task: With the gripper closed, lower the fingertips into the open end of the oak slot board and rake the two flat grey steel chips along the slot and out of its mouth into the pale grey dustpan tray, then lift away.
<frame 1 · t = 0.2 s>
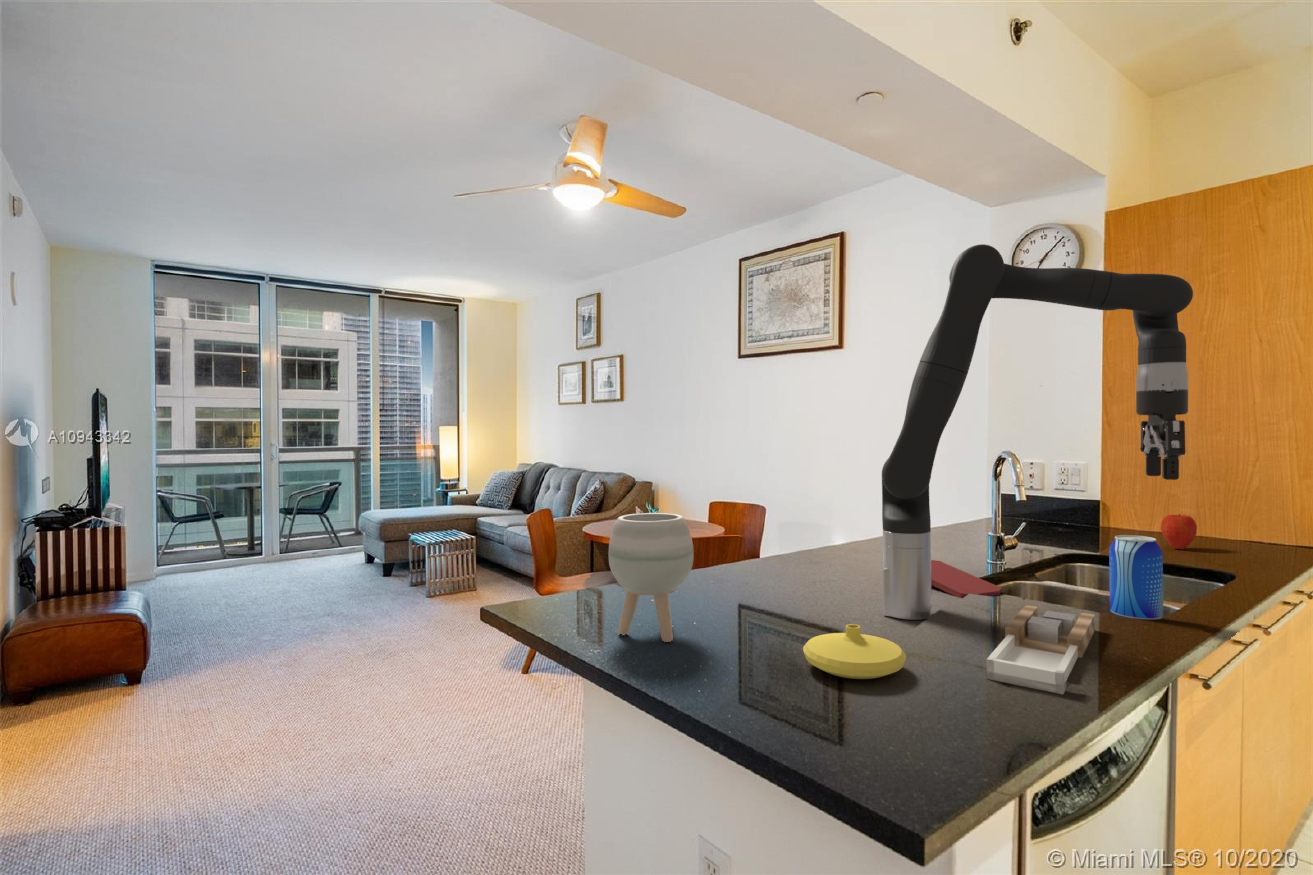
hand: (1161, 477, 120), 28 cm above the table, fingers open, 8 cm apart
planter: (652, 635, 124), on the table
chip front: (1045, 638, 114), point 1 cm above the table, touching slot board
vase: (853, 671, 105), on the table
apple: (1178, 550, 197), on the table
slot board: (1051, 643, 115), on the table
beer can: (1136, 620, 128), on the table
chip rear: (1059, 632, 117), point 1 cm above the table, touching slot board
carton: (943, 587, 159), on the table
tray: (1033, 671, 102), on the table
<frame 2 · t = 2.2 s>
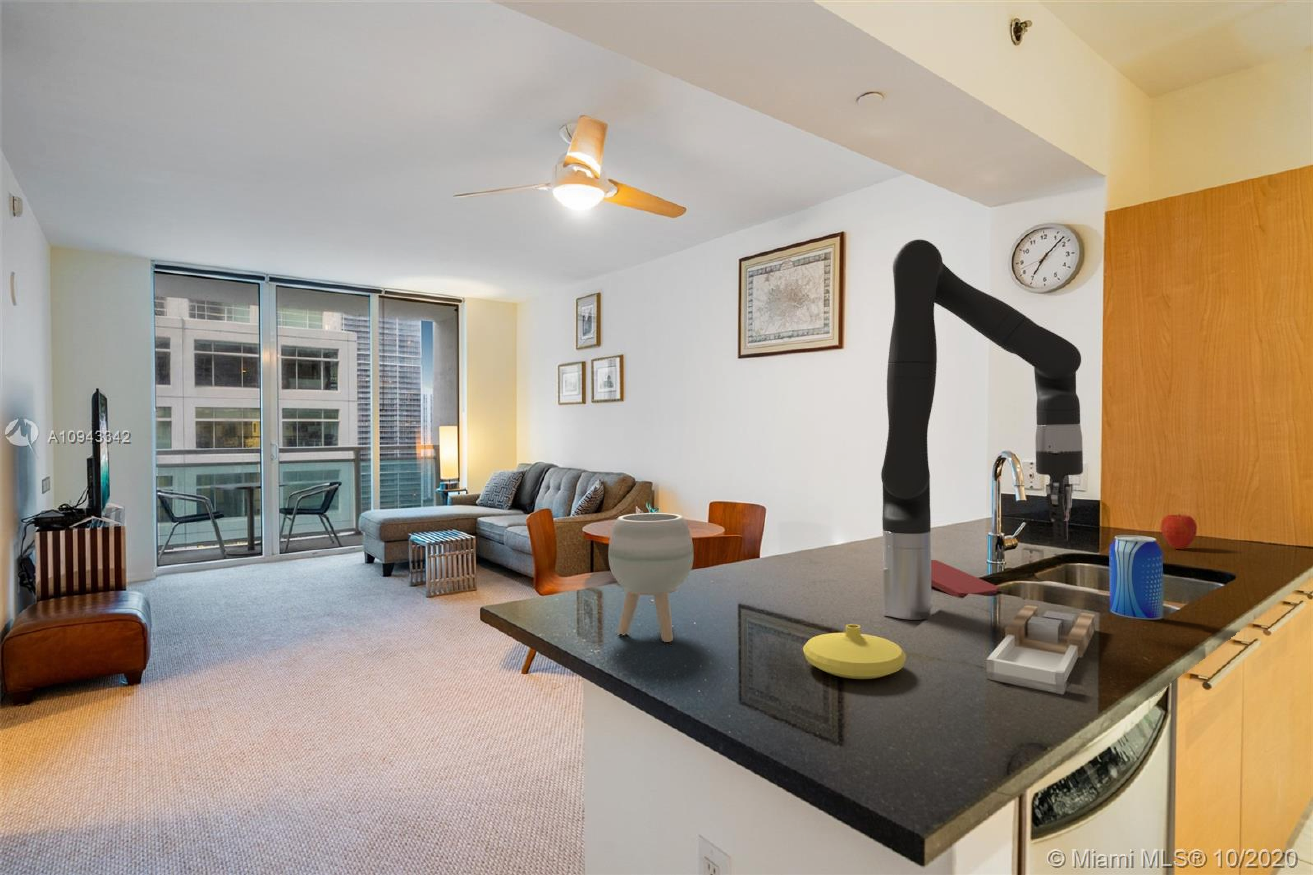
hand: (1060, 541, 123), 17 cm above the table, fingers closed
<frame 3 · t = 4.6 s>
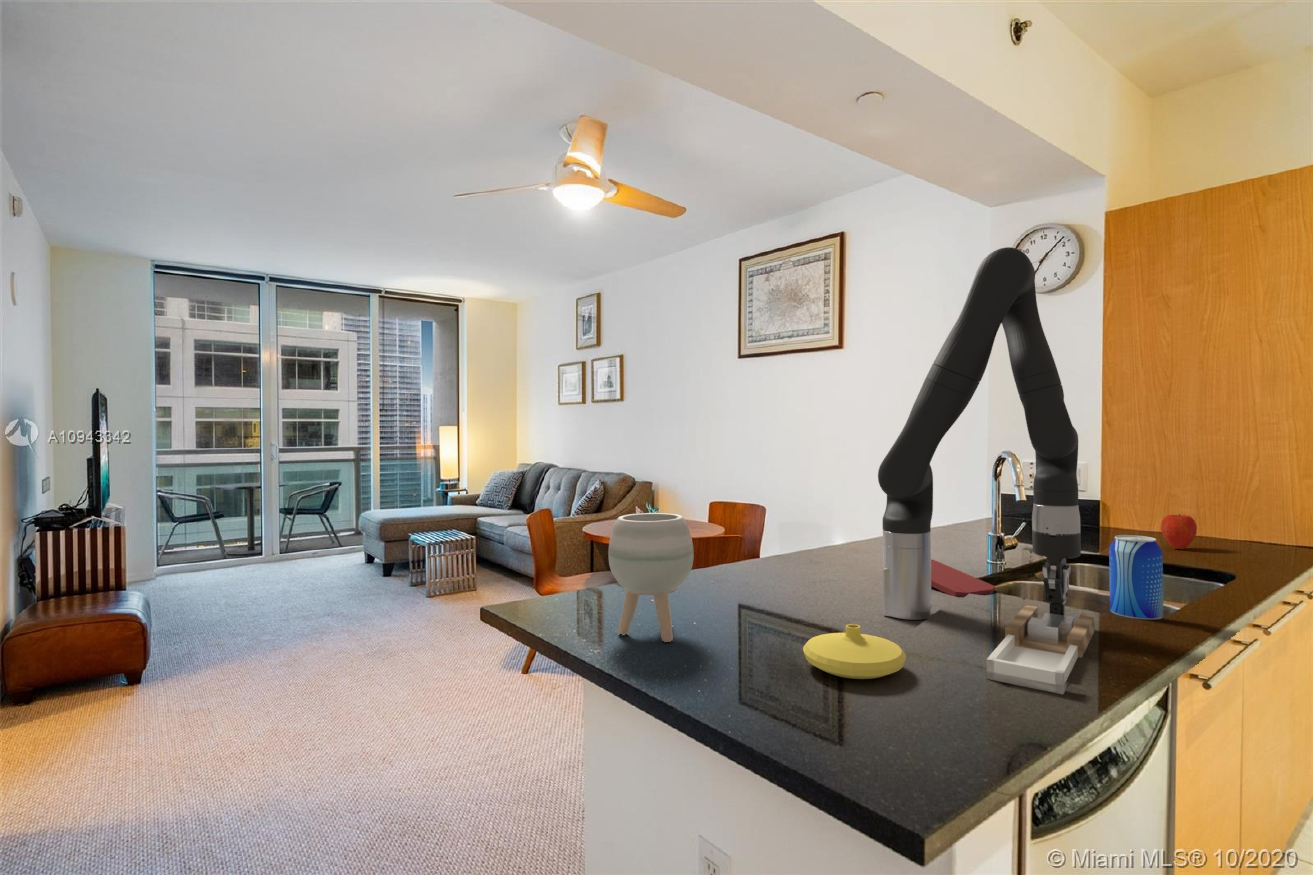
hand: (1057, 623, 120), 2 cm above the table, fingers closed
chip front: (1044, 639, 113), point 1 cm above the table, touching chip rear, slot board
chip rear: (1058, 634, 116), point 1 cm above the table, touching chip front, gripper
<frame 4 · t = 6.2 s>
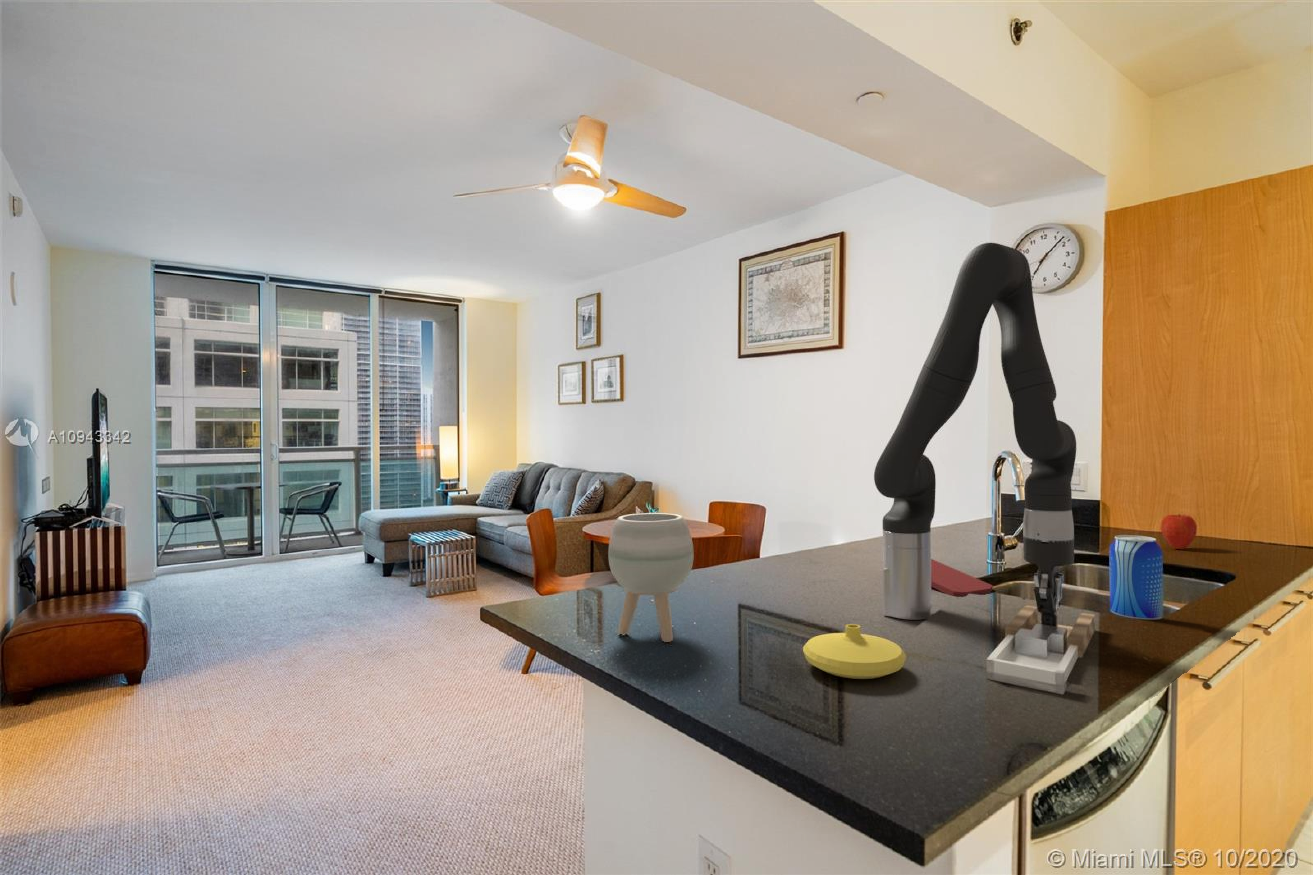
hand: (1049, 635, 113), 2 cm above the table, fingers closed
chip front: (1033, 652, 107), point 1 cm above the table, touching chip rear, slot board, tray
chip rear: (1049, 647, 110), point 1 cm above the table, touching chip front, gripper, slot board
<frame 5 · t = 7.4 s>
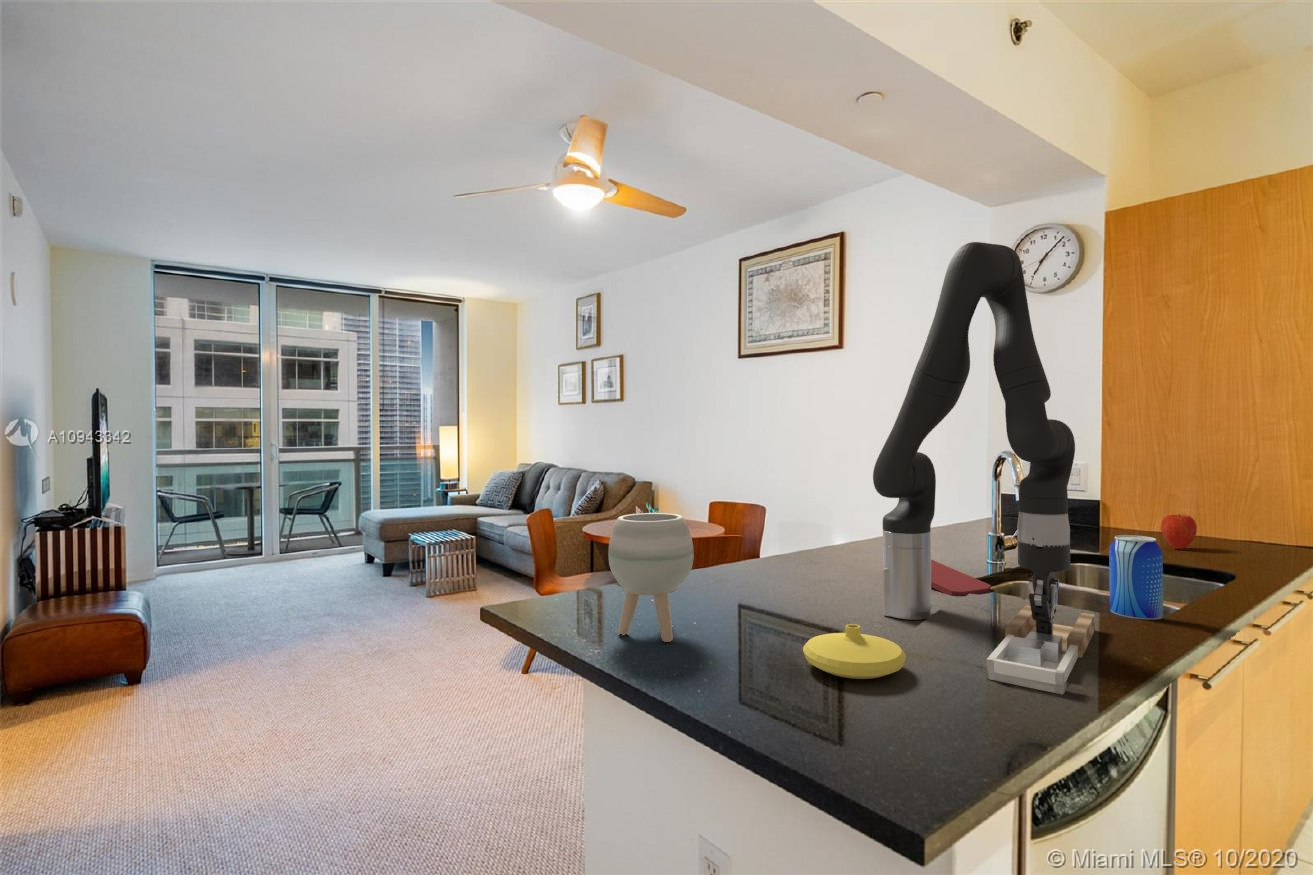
hand: (1044, 643, 109), 2 cm above the table, fingers closed
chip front: (1026, 661, 103), point 1 cm above the table, touching chip rear
chip rear: (1043, 655, 106), point 1 cm above the table, touching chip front, gripper
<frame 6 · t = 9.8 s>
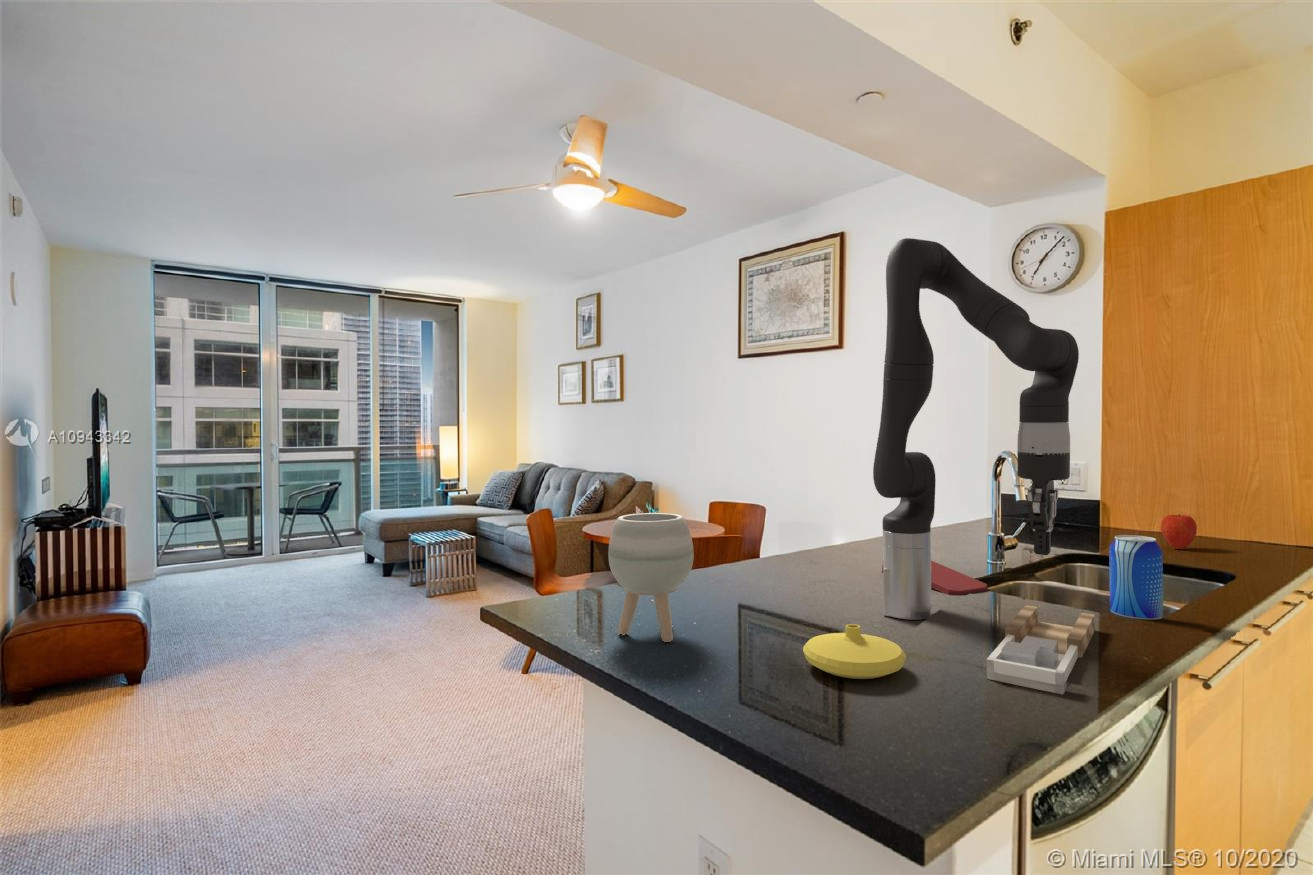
hand: (1042, 553, 109), 17 cm above the table, fingers closed
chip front: (1021, 667, 101), point 1 cm above the table, touching chip rear, tray
chip rear: (1039, 661, 103), point 1 cm above the table, touching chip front, tray
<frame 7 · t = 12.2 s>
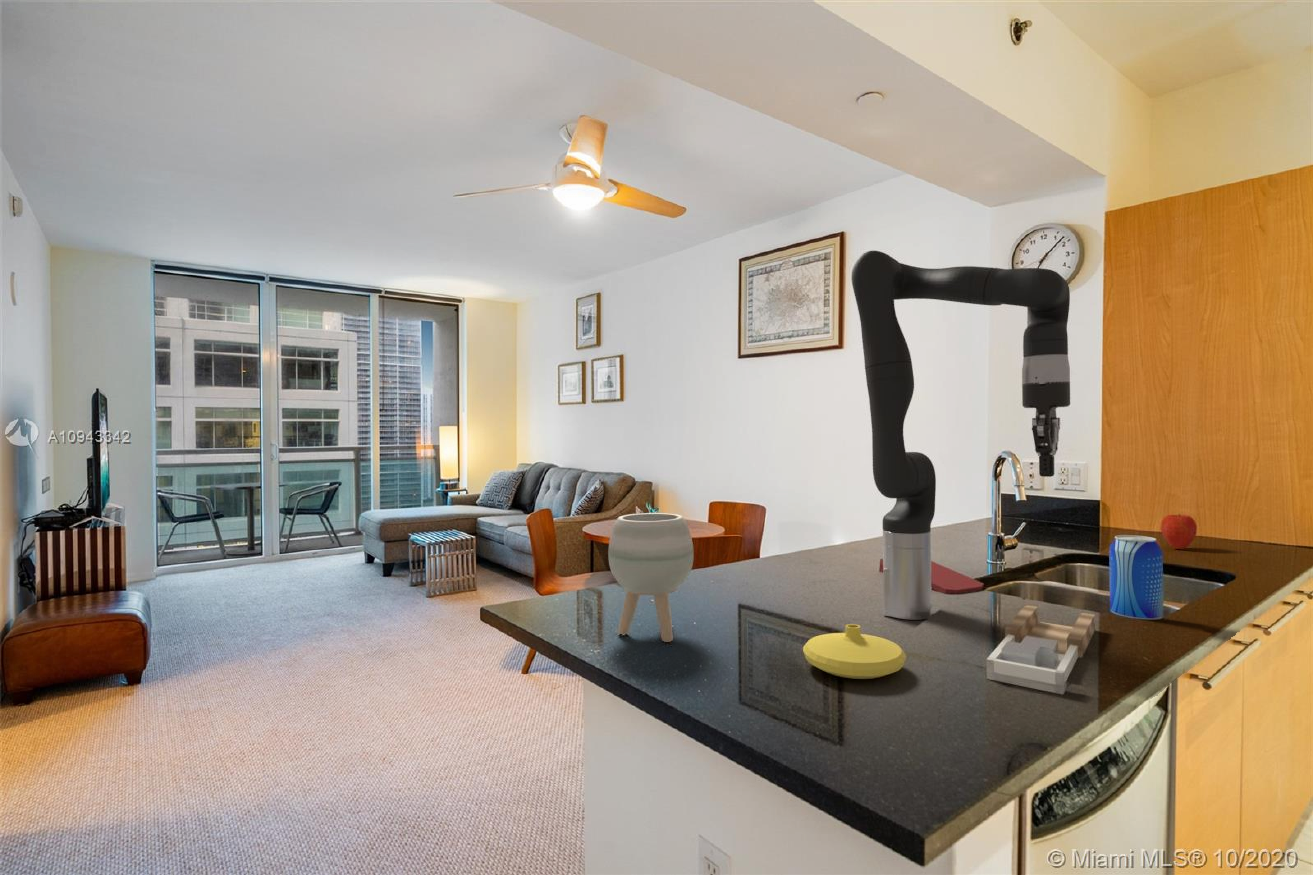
hand: (1046, 476, 120), 29 cm above the table, fingers closed
at the end: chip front 2.9 cm from the tray (horizontally); chip rear 2.0 cm from the tray (horizontally); chip rear touching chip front, tray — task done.
